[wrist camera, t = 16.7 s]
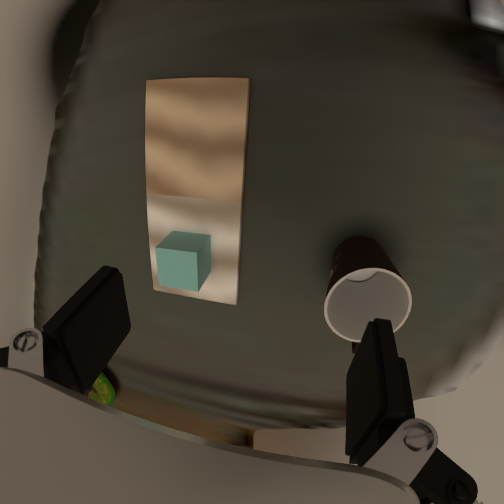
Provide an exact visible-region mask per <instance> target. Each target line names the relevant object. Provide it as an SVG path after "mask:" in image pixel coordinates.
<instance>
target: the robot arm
mask: <svg viewBox="0 0 504 504" xmlns="http://www.w3.org/2000/svg"><path fill="white" fill-rule="evenodd" d="M130 328H131V323H130V318H129V312H128V307H127V301H126V295H125V289H124V283H123V276H122V274H121V273H120V272H119V270H118V269H117V268H114V267H110V266H103V267H102V268H100V269H99V270H98V271H97V272H96V273H95V274H94V275H93V276H92V277H91V278H90V279H89V280H88V281H87V282H86V283H85V284H84V285H83V286H82V287H81V288H80V289H79V290H78V291H77V292H76V293H75V294H74V295H73V296H72V297H71V298H70V299H69V300H68V301H67V302H66V303H65V304H64V305H63V306H62V307H61V308H60V309H59V310H58V311H57V312H56V313H55V314H54V315H53V317H52V318H51V319H50V320H49V321H48V322H47V323H46V324H45V325H44V326H43V329H44V330H43V332H42V333H40V331H39V330H37V329H34V328H25V329H23V330H20V331H18V332H17V333H16V334H15V335H13V337H12V338H11V341H10V345H9V346H8V347H4V348H0V504H483V503H482V502H480V503H478V501H477V500H476V497H477V493H478V489H477V484H476V482H475V480H474V479H473V478H472V477H471V476H470V475H469V474H468V473H467V472H465V471H464V470H463V469H461V467H459V466H458V465H457V464H456V463H454V462H453V461H452V460H451V459H450V458H448V457H447V456H446V455H445V454H444V453H443V452H441V451H440V450H439V449H438V448H437V444H438V435H437V432H436V430H435V429H434V427H433V426H432V425H431V424H430V423H428V422H427V421H425V420H422V419H418V418H416V419H415V413H414V406H413V400H412V394H411V388H410V382H409V376H408V371H407V366H406V362H405V359H404V358H400V357H398V353H397V348H396V343H395V337H394V333H393V328H392V323H391V320H388V319H381V318H375V319H374V320H373V321H369V322H368V324H367V326H366V329H365V331H364V334H363V336H362V339H361V341H360V344H359V346H358V349H357V351H356V353H355V356H354V358H353V360H352V363H351V365H350V367H349V370H348V373H347V379H346V444H345V446H346V447H345V454H346V455H349V456H350V462H349V463H350V464H343V463H335V462H329V461H321V460H314V459H306V458H300V457H293V456H287V455H281V454H275V453H269V452H264V451H259V450H254V449H249V448H244V447H240V446H235V445H231V444H226V443H222V442H218V441H214V440H210V439H206V438H203V437H199V436H195V435H192V434H188V433H185V432H181V431H178V430H175V429H172V428H168V427H165V426H162V425H159V424H156V423H153V422H150V421H147V420H144V419H142V418H139V417H136V416H133V415H131V414H128V413H125V412H123V411H120V410H117V409H115V408H112V407H110V406H107V405H105V404H102V403H100V402H98V401H95V400H93V399H91V398H88V397H86V396H84V395H83V394H84V392H85V391H86V390H89V389H90V388H91V387H92V385H93V384H94V382H95V381H96V379H97V378H98V376H99V375H100V374H101V372H102V371H103V369H104V368H105V366H106V365H107V363H108V362H109V360H110V359H111V357H112V356H113V355H114V353H115V352H116V350H117V349H118V347H119V346H120V344H121V343H122V342H123V340H124V339H125V337H126V336H127V334H128V333H129V331H130ZM351 464H358V466H356V465H351Z"/></svg>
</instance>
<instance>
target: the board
mask: <svg viewBox="0 0 504 504" xmlns="http://www.w3.org/2000/svg"><path fill="white" fill-rule="evenodd" d="M250 80H251V79H249V78H175V79H158V80H147V83H146V118H145V154H146V191H147V212H148V229H149V242H150V255H151V266H152V276H153V286H154V290H158V291H163V292H168V293H173V294H178V295H183V296H189V297H194V298H199V299H205V300H210V301H216V302H222V303H227V304H233V305H236V304H237V302H238V287H239V267H240V248H241V229H242V211H243V193H244V176H245V159H246V142H247V126H248V110H249V95H250ZM172 231H180V232H189V233H198V234H207V235H211V272H210V274H209V276H208V277H207V279H206V280H205V282H204V284H203V285H202V287H201V289H200V290H199V292H195V291H189V290H183V289H177V288H171V287H165V286H160V285H159V280H158V271H157V262H156V251H155V247H156V246H157V245H158V244H159V243H160V242H161V241H162V240H163V239H164V238H165V237H166V236H168V235H169V234H170V233H171V232H172Z"/></svg>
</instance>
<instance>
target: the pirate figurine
mask: <svg viewBox="0 0 504 504" xmlns="http://www.w3.org/2000/svg"><path fill="white" fill-rule="evenodd" d="M83 395H84V396H86V397H87V396H89V397H91V398H92V399H94V400H95V401H98V402H100V403H102V404H105V405H107V406H108V405H112V404H113V402H114V400H115V398H116V393H115V391H114V388H113V386H112V384H111V383H110V381H109V380H108V378H107V377H106V376H105V375H104V374H103V372H101V374H100V375H99V376H98V378H97V379H96V381H95V382H94V384H93V385H92V387H91V388H90V389H89V390H86V391H85V392H84V394H83Z"/></svg>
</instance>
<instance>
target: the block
mask: <svg viewBox="0 0 504 504" xmlns="http://www.w3.org/2000/svg"><path fill="white" fill-rule="evenodd" d="M155 251H156V262H157V271H158V280H159V285H160V286H165V287H171V288H177V289H183V290H189V291H195V292H199V290H200V289H201V287H202V285H203V284H204V282H205V280H206V279H207V277H208V276H209V274H210V272H211V235H207V234H198V233H189V232H180V231H172V232H171V233H170V234H169V235H168V236H166V237H165V238H164V239H163V240H162V241H161V242H160V243H159V244H158V245H157V246H156V247H155Z"/></svg>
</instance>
